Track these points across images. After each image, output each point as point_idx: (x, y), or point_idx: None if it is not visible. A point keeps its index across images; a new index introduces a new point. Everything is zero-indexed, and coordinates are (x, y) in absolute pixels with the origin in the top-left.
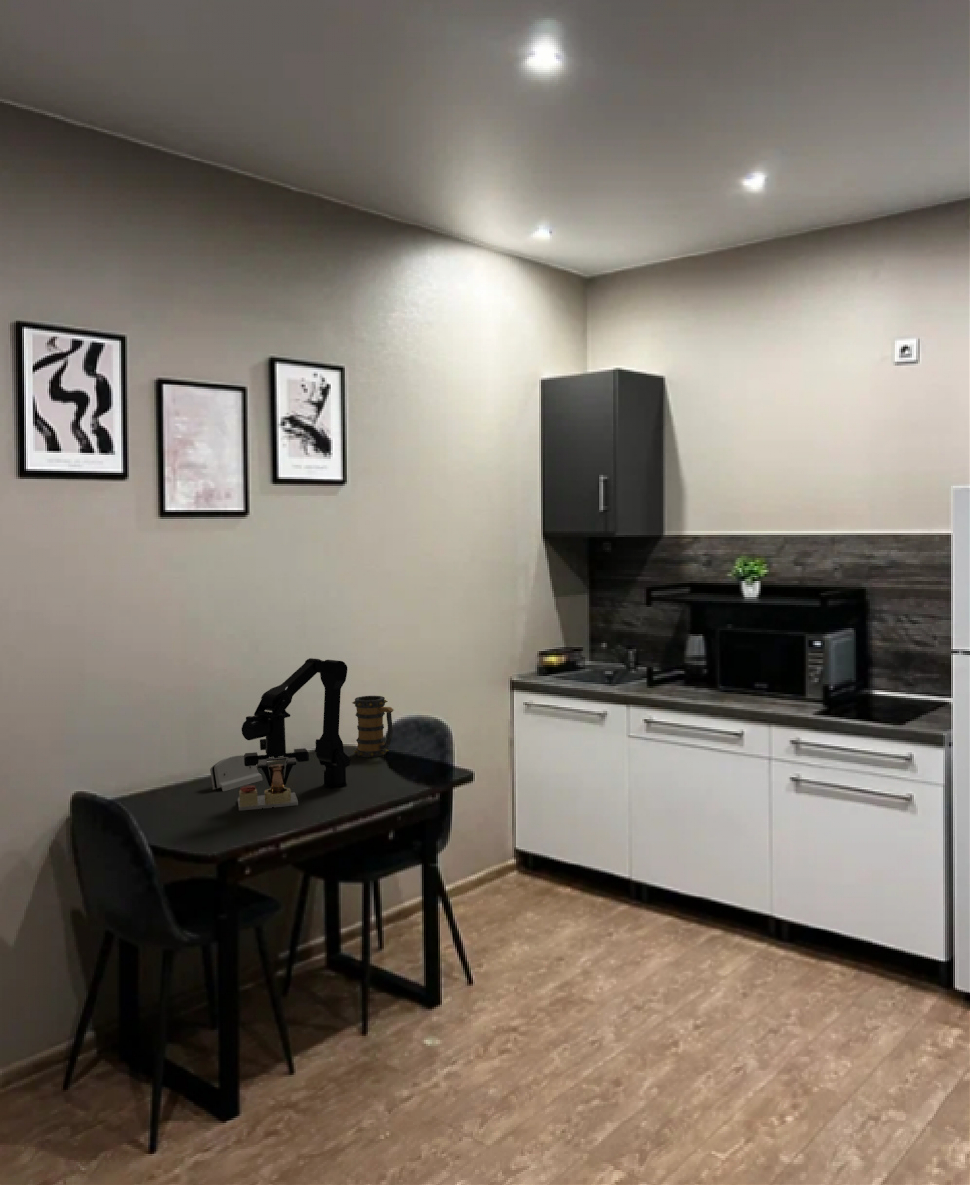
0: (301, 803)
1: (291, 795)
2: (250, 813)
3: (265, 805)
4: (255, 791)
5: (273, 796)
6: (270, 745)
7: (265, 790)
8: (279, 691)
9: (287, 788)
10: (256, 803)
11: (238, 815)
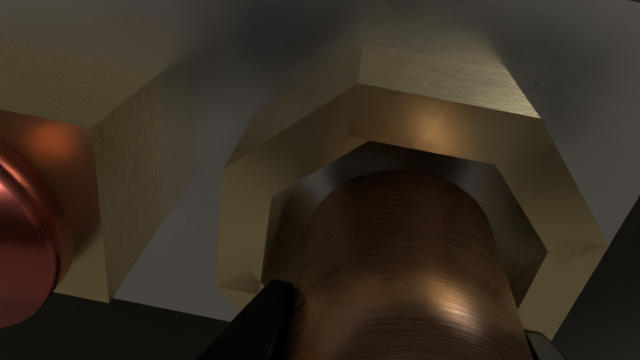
0: (572, 326)
1: (601, 154)
2: (111, 347)
3: (229, 315)
4: (83, 250)
5: None
6: None
7: (237, 183)
8: None
9: (568, 244)
10: (149, 246)
11: (26, 345)
